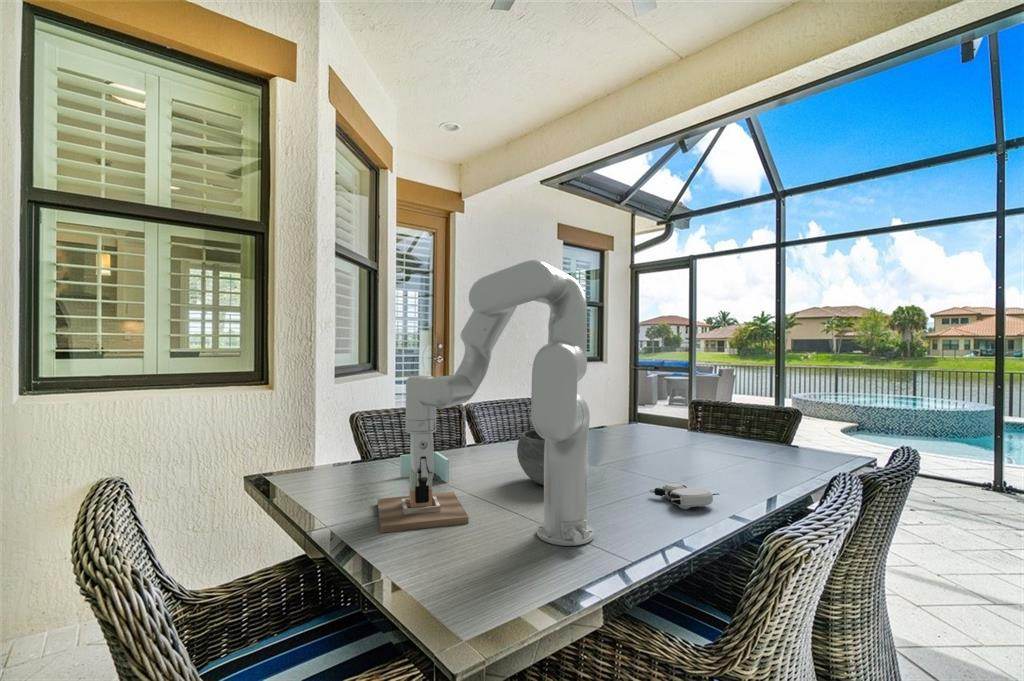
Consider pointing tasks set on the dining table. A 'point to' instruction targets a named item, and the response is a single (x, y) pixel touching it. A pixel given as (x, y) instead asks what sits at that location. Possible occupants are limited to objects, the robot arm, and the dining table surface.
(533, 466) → the bowl
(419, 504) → the stack block
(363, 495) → the dining table surface
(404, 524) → the walnut board
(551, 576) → the dining table surface
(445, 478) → the right angle wall
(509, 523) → the dining table surface
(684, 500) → the robot toy
